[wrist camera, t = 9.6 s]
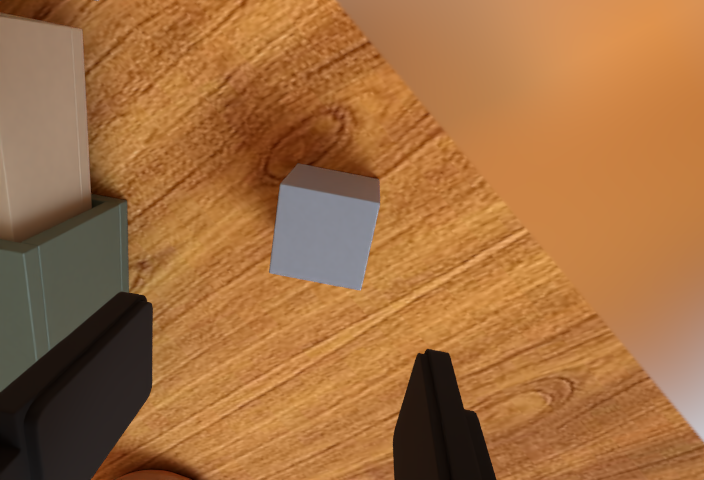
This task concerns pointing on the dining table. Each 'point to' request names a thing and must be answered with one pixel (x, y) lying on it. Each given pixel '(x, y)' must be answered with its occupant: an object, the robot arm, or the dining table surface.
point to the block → (324, 226)
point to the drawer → (41, 126)
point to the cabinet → (59, 282)
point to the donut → (152, 475)
